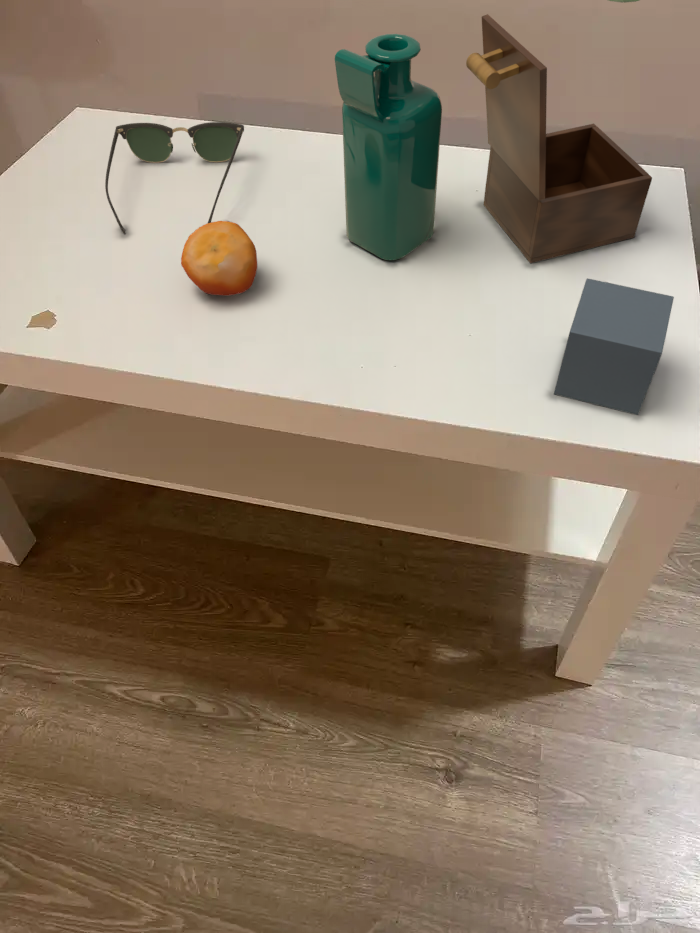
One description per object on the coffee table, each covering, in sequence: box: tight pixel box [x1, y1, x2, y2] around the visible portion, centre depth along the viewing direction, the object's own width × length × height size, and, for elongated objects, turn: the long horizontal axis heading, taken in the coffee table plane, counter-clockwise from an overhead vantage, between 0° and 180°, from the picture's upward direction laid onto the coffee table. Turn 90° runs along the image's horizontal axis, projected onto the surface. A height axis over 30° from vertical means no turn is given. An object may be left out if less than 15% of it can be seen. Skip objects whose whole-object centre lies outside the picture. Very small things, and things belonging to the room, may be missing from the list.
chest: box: [483, 123, 653, 264], centre depth 90 cm, size 13×12×8 cm
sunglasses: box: [104, 121, 245, 234], centre depth 97 cm, size 16×17×5 cm
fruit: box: [180, 220, 258, 297], centre depth 85 cm, size 8×8×8 cm
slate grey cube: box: [553, 278, 675, 416], centre depth 74 cm, size 8×8×8 cm
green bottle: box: [334, 33, 443, 261], centre depth 83 cm, size 10×8×22 cm
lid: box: [465, 13, 548, 201], centre depth 80 cm, size 14×12×4 cm
